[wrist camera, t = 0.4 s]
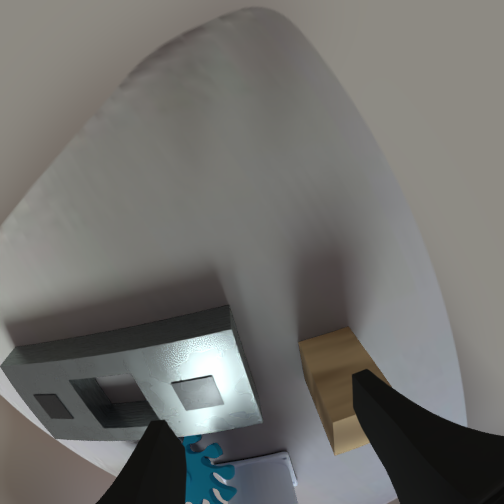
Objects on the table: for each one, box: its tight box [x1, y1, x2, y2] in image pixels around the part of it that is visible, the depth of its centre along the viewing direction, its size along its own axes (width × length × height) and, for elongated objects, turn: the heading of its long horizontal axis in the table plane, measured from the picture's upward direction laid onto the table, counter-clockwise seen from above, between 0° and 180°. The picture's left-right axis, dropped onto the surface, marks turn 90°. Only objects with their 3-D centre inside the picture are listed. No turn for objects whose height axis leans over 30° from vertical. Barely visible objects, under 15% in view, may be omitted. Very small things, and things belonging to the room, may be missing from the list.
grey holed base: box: [0, 305, 263, 441], centre depth 19 cm, size 9×20×3 cm, turn 103°
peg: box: [298, 327, 391, 455], centre depth 18 cm, size 4×4×8 cm
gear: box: [182, 434, 237, 504], centre depth 22 cm, size 11×6×10 cm
